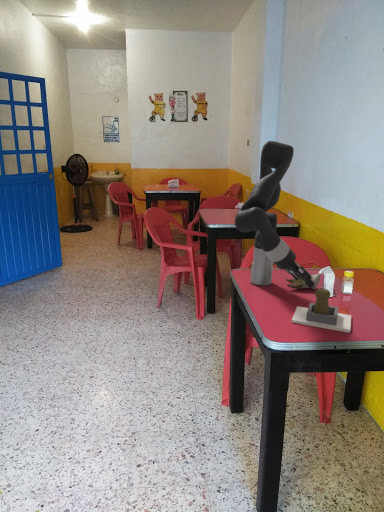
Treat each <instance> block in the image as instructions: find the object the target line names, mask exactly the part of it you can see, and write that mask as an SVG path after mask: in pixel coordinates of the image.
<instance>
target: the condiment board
mask: <svg viewBox="0 0 384 512" xmlns="http://www.w3.org/2000/svg"><path fill="white" fill-rule="evenodd" d="M314 307H315V303H314V302H313V303H312V302H309V306H308V307H304V306H298V305H297V306H296V308H295V311H294V313H293V315H292V318H291V323H293V324H299V325H303V326H309V327H310V326H311V327H315V328H319V329H320V328H322V329H327V330H332V331H336V332H337V331H338V332H343V333H349V334H351V329H352V328H351V327H352V315H351V314H345V313H341V312H339V307H338V306H332V305H329V315H325V314H319V313H313V311H314Z"/></svg>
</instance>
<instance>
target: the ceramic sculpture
mask: <svg viewBox="0 0 384 512" xmlns="http://www.w3.org/2000/svg"><path fill="white" fill-rule="evenodd" d="M306 271H307V270H306ZM307 272H308V274H309V275H310V276H311V277H312V278H311V280H312V281H313V282H314V286H313V287H312V288H311V289H312V290H316V288H317V287H318V285H319V283H320V280H321V276H322V275H321V273H317V274H311V273H310V272H309V271H307ZM305 277H306V276H305ZM285 281H287V282H288V283H290V284H287V287H288V288H291V289H294V290H296V289H306V288H309V287H308V286H307V285H306V284H305V282H303V281H302V280H301V279H300V278H299V279H298V280H295V279H294V277H292V278H289V279H288V278H285ZM309 289H310V288H309Z"/></svg>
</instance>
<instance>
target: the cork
mask: <svg viewBox="0 0 384 512" xmlns="http://www.w3.org/2000/svg"><path fill="white" fill-rule="evenodd" d="M314 296H315V297H316V300H315V303H314V304H315V307H314V311H313V313H319V314H325V315H329V306H330V304H329V299H330V298H331V291H330V290H328V289H327V288H319V289H317V290H315V295H314Z"/></svg>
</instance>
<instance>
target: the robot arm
mask: <svg viewBox="0 0 384 512" xmlns="http://www.w3.org/2000/svg"><path fill="white" fill-rule="evenodd" d="M294 150H295V149H294V147H293V146H292V145H289V144H285V143H282V142H278V141H276V140H275V141H274V140H268V141H266V142H265V143H264V144H263V146H262V148H261V152H260V166H259V179H258V181H257V182H256V183H255V184H254V185H253V188H252V189H251V192H250V194H249V196H248V199H246V201H245V202H244V203H243V204H242V205H241V207H240V208H239V209H238V210H237V212H236V214H235V218H234V226H235V228H236V230H237V231H238V232H241V233H249V232H252V231H253V232H255V235H254V242H253V243H254V244H253V256H252V258H253V259H252V262H251V271H250V272H251V273H250V284H253V285H256V286H270V285H271V284H272V281H273V280H272V279H273V267H274V265H275V266H276V267H277V269H278V270H284V271H285V272H286V273H288V274H289V275H291V277H292V278H294V279H295V280H298V279H299V278H300V279H301V280H302V281H303V282H305V284H306V285H307V286H308V287H309V289H312V287H313V286H314V282H313V281H312V280H311V278H312V277H311V276H310V275H309V274H308V272H309V271H308V272H307V270H306V269H305V268H304V267H303V266H302V265H300V264H299V263H298V262H297V261H296V258H297V255H296V252H294V250H292V248H291V247H290V246H289V245H288V243H286V241H285V240H283V239H282V238H281V236H280V235H278V233H277V226H278V216H277V213H275V212H268V211H270V210H271V209H272V208H274V207H275V206H276V205H277V204H278V203H279V199H280V195H281V192H282V191H281V190H282V187H281V181H282V180H283V178H284V176H285V175H286V173H287V171H288V169H289V168H290V166H291V164H292V160H293V157H294V152H295V151H294ZM273 169H274V170H273ZM305 276H306V277H305Z"/></svg>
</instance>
